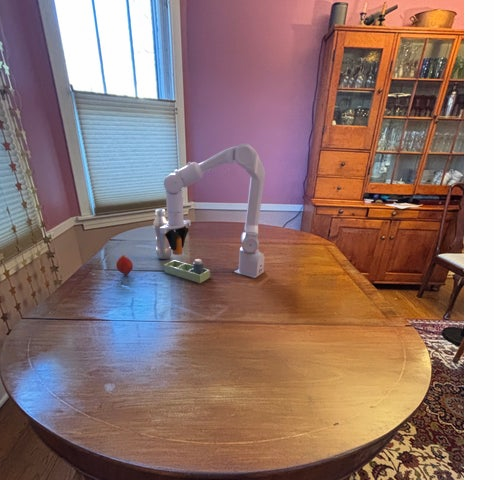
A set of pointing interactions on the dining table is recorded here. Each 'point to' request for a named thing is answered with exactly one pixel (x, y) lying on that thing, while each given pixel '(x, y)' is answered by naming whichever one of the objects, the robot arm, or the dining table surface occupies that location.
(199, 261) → the slate spice bottle
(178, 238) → the amber spice bottle
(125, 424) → the dining table surface
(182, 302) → the dining table surface
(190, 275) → the bottle holder
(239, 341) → the dining table surface
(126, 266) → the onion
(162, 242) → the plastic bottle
